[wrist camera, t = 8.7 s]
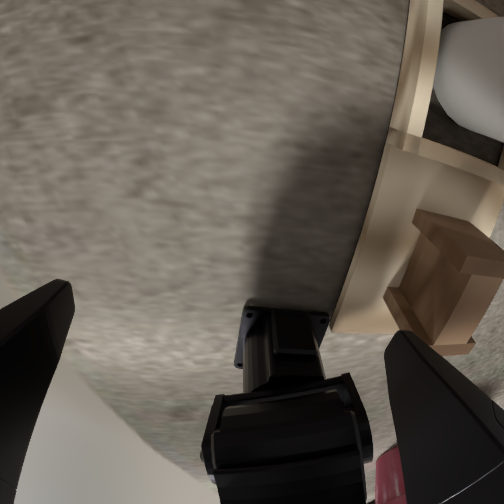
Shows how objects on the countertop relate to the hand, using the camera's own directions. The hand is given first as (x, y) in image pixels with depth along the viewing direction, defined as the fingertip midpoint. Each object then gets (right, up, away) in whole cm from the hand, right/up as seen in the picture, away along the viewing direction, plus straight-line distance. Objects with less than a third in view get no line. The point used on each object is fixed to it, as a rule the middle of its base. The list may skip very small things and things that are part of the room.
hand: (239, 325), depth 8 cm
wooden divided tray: (+13, +6, +11) cm, 18 cm away
